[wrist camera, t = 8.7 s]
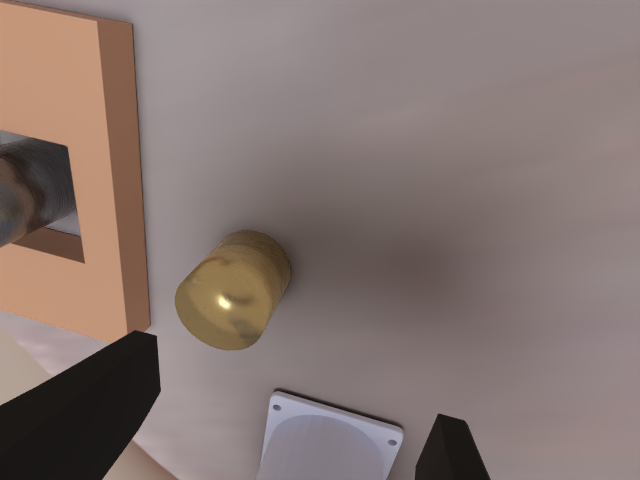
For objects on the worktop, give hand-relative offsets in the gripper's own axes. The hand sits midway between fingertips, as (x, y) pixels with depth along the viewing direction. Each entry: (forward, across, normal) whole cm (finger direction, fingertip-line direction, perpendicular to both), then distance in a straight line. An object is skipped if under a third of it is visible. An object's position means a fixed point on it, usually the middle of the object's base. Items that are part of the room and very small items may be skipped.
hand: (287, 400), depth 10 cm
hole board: (+9, +15, 0) cm, 18 cm away
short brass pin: (+10, +4, +3) cm, 11 cm away
